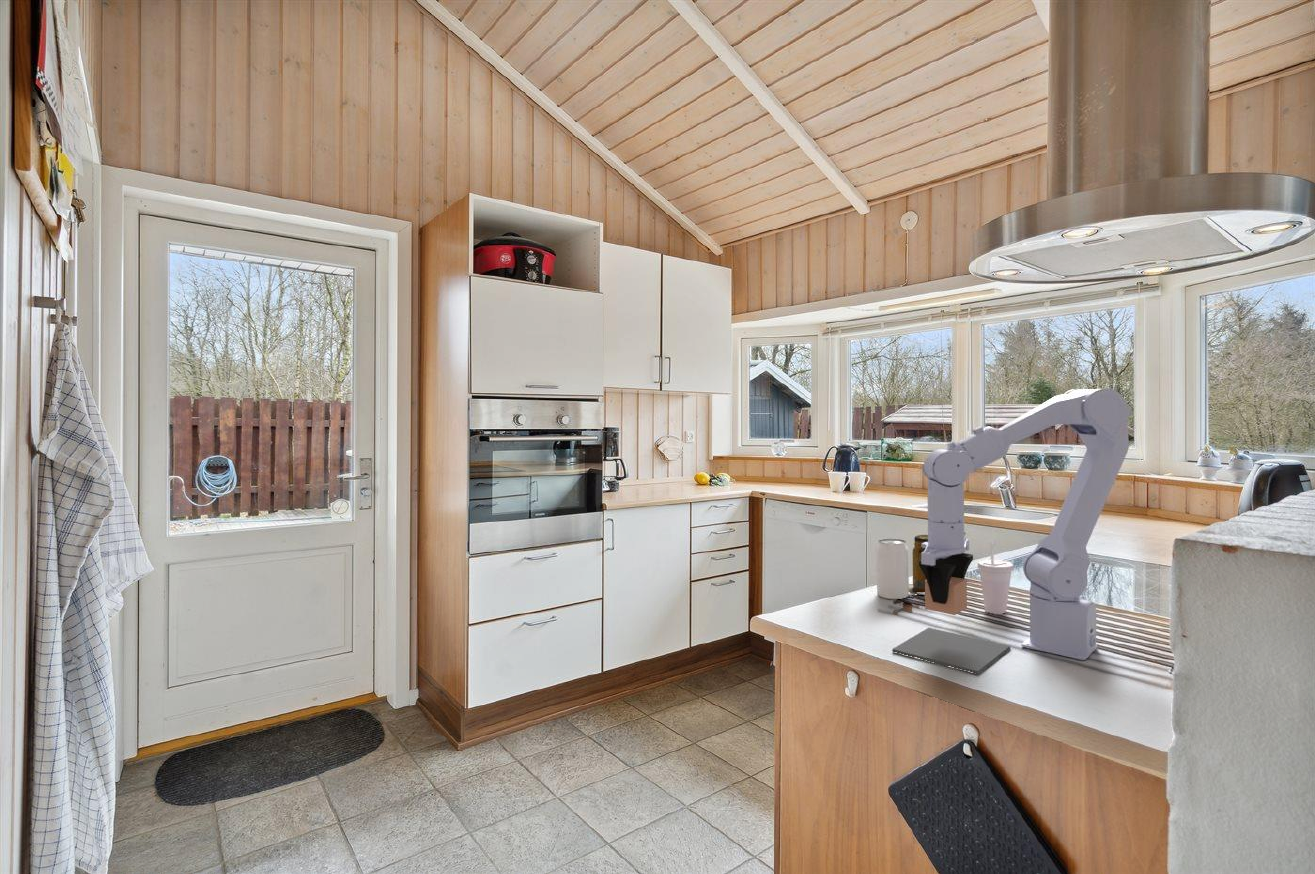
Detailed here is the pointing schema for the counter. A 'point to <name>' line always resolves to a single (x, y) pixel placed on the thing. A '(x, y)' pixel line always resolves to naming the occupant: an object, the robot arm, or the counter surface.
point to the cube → (949, 597)
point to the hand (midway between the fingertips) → (946, 598)
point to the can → (892, 569)
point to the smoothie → (995, 583)
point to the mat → (952, 650)
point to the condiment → (917, 572)
